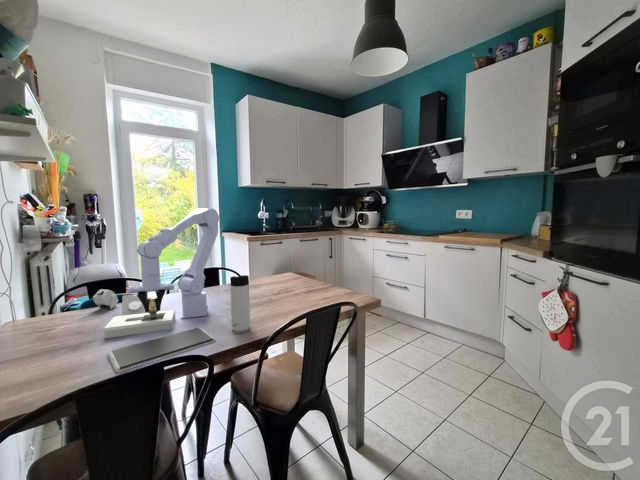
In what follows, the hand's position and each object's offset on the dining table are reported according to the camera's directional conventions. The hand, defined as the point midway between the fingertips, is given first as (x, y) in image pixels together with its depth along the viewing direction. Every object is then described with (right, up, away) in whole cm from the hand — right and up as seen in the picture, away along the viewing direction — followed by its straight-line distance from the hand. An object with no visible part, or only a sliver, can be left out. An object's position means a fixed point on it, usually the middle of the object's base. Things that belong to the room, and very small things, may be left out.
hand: (153, 310), depth 104 cm
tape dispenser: (-31, -4, +20) cm, 37 cm away
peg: (0, -5, 0) cm, 5 cm away
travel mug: (+33, -6, -3) cm, 34 cm away
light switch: (-13, -5, +10) cm, 17 cm away
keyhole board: (-3, -6, -1) cm, 7 cm away
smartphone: (+13, -8, -16) cm, 22 cm away
